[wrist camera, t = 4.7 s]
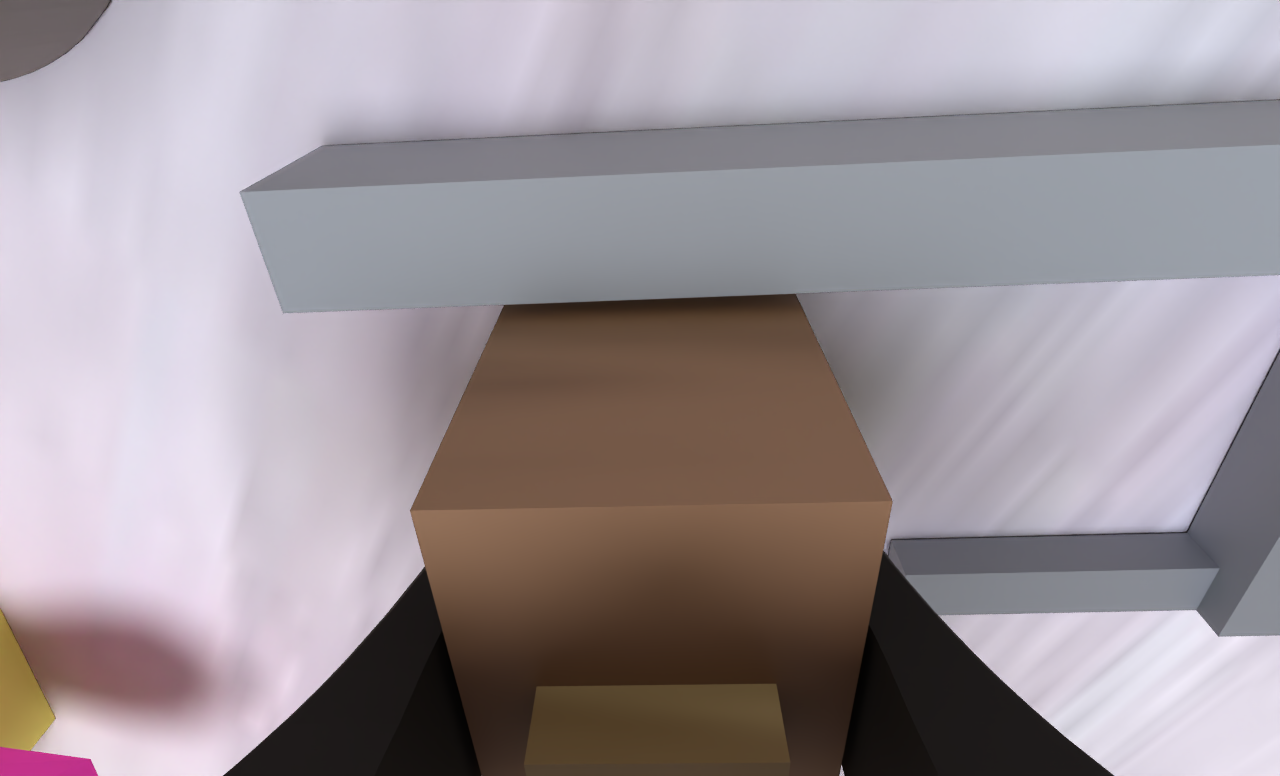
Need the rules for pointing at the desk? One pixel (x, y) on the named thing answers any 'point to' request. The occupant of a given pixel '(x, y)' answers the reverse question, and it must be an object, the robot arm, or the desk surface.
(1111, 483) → the desk surface
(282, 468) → the desk surface
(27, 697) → the toy
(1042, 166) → the grey j-shaped hook
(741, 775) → the cardboard box
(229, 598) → the desk surface
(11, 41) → the coffee mug
